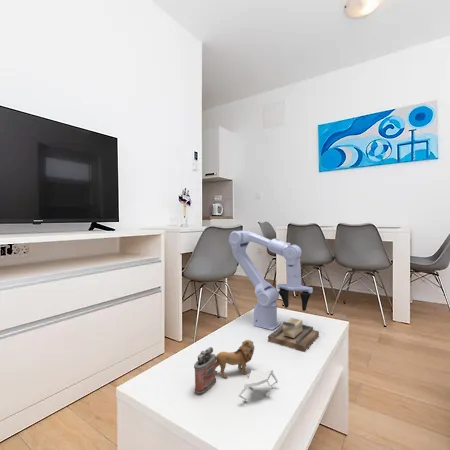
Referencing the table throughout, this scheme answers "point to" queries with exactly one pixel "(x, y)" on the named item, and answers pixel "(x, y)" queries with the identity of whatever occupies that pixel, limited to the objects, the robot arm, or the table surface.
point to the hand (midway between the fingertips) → (295, 308)
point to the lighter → (205, 371)
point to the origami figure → (258, 380)
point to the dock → (299, 341)
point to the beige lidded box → (292, 327)
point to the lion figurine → (235, 357)
